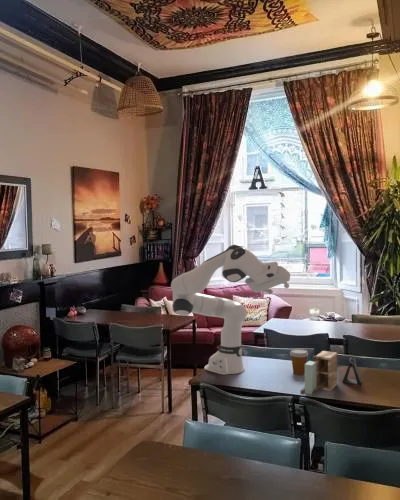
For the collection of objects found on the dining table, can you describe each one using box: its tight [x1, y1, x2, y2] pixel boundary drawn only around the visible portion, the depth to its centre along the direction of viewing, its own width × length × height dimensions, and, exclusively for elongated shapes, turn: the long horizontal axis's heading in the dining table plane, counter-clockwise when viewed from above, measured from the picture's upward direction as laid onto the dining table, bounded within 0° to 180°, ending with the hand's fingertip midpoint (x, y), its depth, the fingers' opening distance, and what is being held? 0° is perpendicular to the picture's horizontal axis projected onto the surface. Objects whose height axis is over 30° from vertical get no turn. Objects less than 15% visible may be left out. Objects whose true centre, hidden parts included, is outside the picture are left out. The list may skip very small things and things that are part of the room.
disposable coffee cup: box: [289, 348, 309, 376], centre depth 244 cm, size 10×10×12 cm
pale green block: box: [304, 360, 317, 396], centre depth 216 cm, size 4×7×14 cm, turn 147°
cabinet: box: [300, 350, 338, 397], centre depth 220 cm, size 11×21×16 cm, turn 147°
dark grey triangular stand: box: [342, 356, 363, 386], centre depth 229 cm, size 9×6×12 cm, turn 66°
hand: (279, 289), depth 208 cm, fingers open, 8 cm apart
